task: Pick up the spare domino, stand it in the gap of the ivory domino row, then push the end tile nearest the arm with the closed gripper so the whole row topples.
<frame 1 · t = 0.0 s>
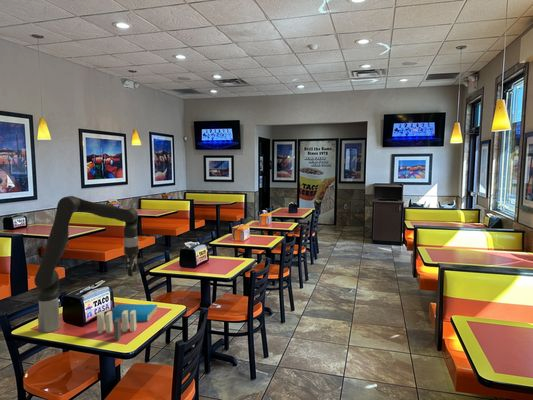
hand: (132, 273, 205), 29 cm above the table, fingers open, 8 cm apart
domino 4: (125, 329, 202), on the table
spare domino: (117, 338, 192), on the table
domino 1: (101, 331, 201), on the table
book: (132, 316, 221), on the table
domino 5: (133, 329, 202), on the table
domino 2: (109, 330, 201), on the table
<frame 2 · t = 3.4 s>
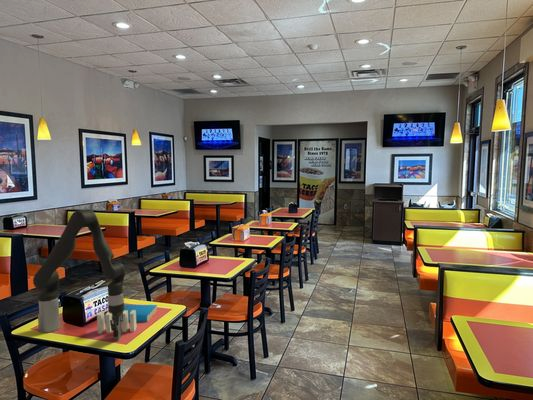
hand: (117, 334, 191), 2 cm above the table, fingers closed on spare domino, 5 cm apart
spare domino: (117, 338, 192), on the table, touching gripper
when the fingers open (4 cm above the table, at t = 9.2 s): spare domino drops 1 cm, on the table.
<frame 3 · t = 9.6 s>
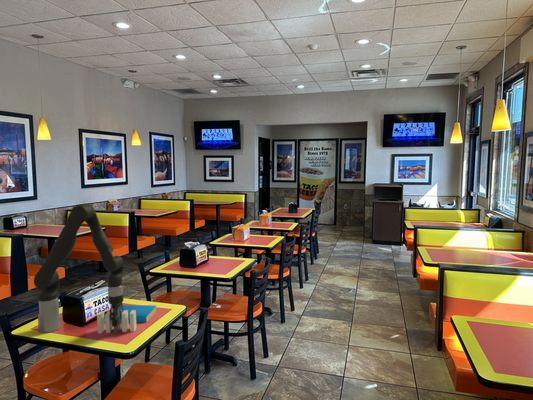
hand: (117, 322, 201), 4 cm above the table, fingers open, 8 cm apart
spare domino: (117, 330, 201), on the table
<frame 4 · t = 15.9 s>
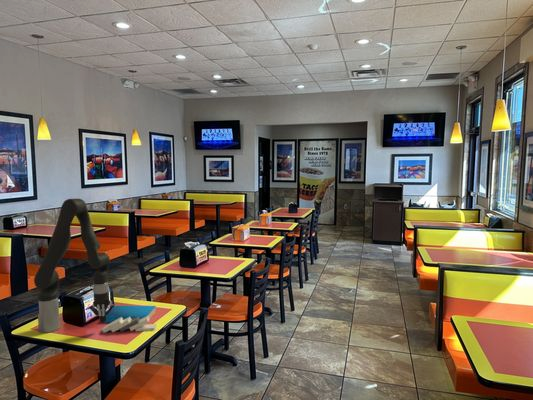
hand: (102, 322, 200), 5 cm above the table, fingers closed
domino 4: (130, 327, 202), point 1 cm above the table, tilted 66°, touching domino 5, spare domino
spare domino: (121, 328, 202), point 1 cm above the table, tilted 64°, touching domino 2, domino 4
domino 1: (104, 329, 200), point 1 cm above the table, tilted 63°, touching domino 2
domino 5: (136, 328, 202), on the table, tilted 90°, touching domino 4
domino 2: (112, 329, 201), point 1 cm above the table, tilted 63°, touching domino 1, spare domino
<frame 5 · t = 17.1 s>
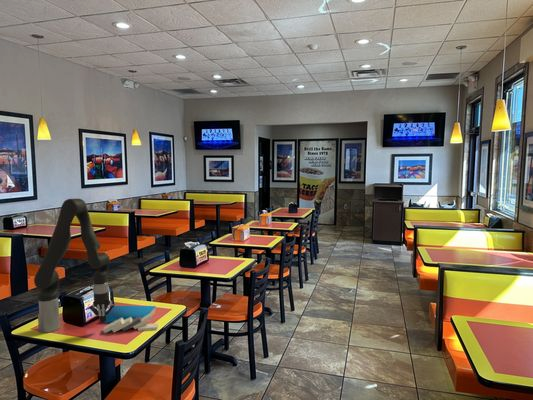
hand: (102, 322, 200), 5 cm above the table, fingers closed
domino 4: (133, 326, 203), point 1 cm above the table, tilted 67°, touching spare domino
domino 5: (138, 328, 203), on the table, tilted 90°
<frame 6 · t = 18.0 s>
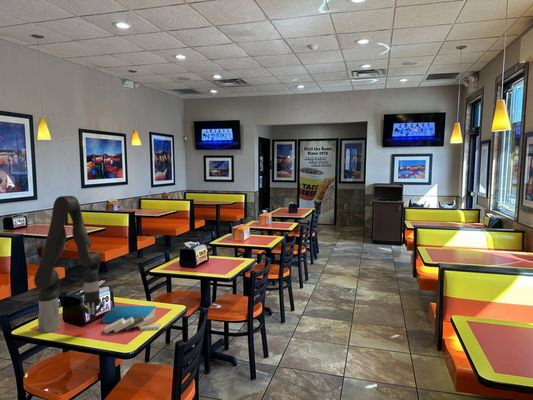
hand: (92, 320, 200), 6 cm above the table, fingers closed
domino 4: (137, 324, 204), point 2 cm above the table, tilted 73°, touching domino 5, spare domino
spare domino: (126, 327, 202), point 1 cm above the table, tilted 63°, touching domino 2, domino 4
domino 1: (105, 330, 200), point 1 cm above the table, tilted 65°, touching domino 2
domino 5: (141, 327, 203), on the table, tilted 90°, touching domino 4
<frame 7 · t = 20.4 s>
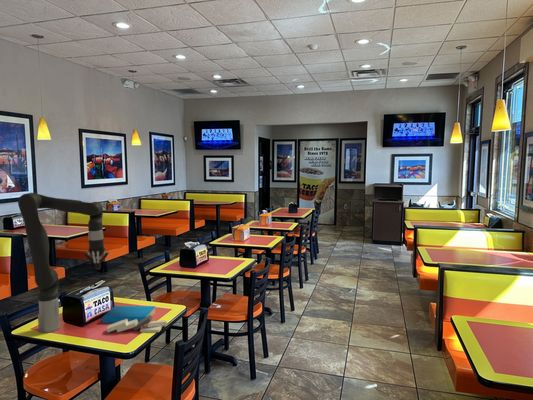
hand: (97, 269, 205), 32 cm above the table, fingers closed
domino 4: (147, 324, 202), point 3 cm above the table, tilted 96°, touching domino 5
spare domino: (134, 327, 203), point 1 cm above the table, tilted 60°, touching domino 2
domino 1: (108, 328, 200), point 1 cm above the table, tilted 73°, touching domino 2
domino 5: (142, 329, 201), on the table, tilted 90°, touching domino 4
domino 2: (118, 328, 201), point 1 cm above the table, tilted 73°, touching domino 1, spare domino
at the end: domino 5 tilted 90°; spare domino tilted 60° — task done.
